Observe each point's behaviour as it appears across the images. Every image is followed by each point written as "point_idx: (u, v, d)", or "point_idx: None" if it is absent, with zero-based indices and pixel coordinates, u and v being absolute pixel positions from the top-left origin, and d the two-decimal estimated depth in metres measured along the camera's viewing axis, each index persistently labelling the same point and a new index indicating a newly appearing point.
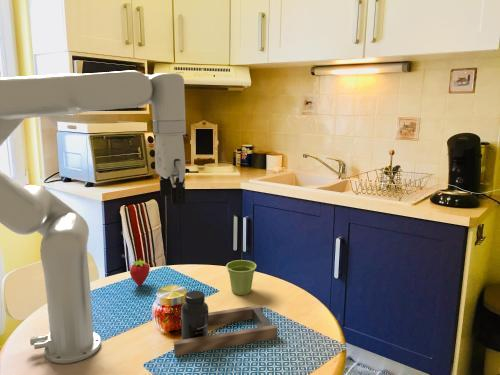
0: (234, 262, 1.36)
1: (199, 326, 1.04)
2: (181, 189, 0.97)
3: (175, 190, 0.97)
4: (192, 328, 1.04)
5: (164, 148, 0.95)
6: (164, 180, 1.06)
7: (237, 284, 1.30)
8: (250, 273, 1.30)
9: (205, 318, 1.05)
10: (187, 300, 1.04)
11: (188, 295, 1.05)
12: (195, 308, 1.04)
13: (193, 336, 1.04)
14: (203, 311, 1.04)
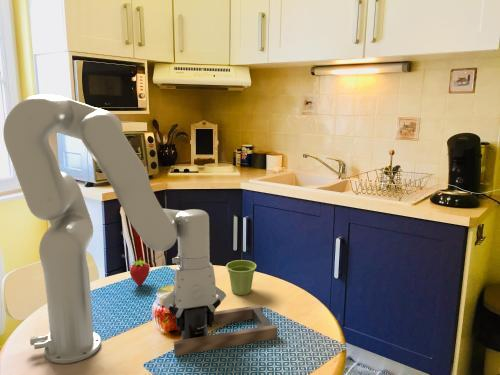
0: (234, 262, 1.36)
1: (199, 326, 1.04)
2: None
3: (212, 313, 1.07)
4: (192, 328, 1.04)
5: (212, 278, 1.04)
6: (181, 315, 1.05)
7: (237, 284, 1.30)
8: (250, 273, 1.30)
9: (205, 318, 1.05)
10: None
11: None
12: (195, 308, 1.04)
13: (193, 336, 1.04)
14: (202, 311, 1.04)
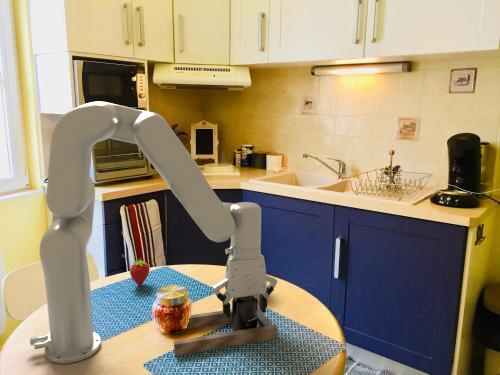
0: None
1: (250, 318, 1.08)
2: None
3: (266, 299, 1.12)
4: (243, 320, 1.08)
5: (263, 268, 1.07)
6: None
7: None
8: None
9: (255, 310, 1.09)
10: None
11: None
12: (246, 301, 1.08)
13: (244, 328, 1.08)
14: (253, 303, 1.08)
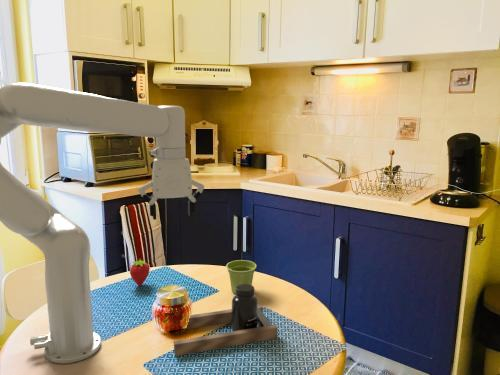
0: (234, 262, 1.36)
1: (250, 318, 1.08)
2: None
3: (193, 204, 1.15)
4: (243, 320, 1.08)
5: (188, 170, 1.11)
6: None
7: (237, 284, 1.30)
8: (250, 273, 1.30)
9: (255, 310, 1.09)
10: (238, 293, 1.08)
11: (239, 288, 1.09)
12: (246, 301, 1.08)
13: (244, 328, 1.08)
14: (253, 303, 1.08)
